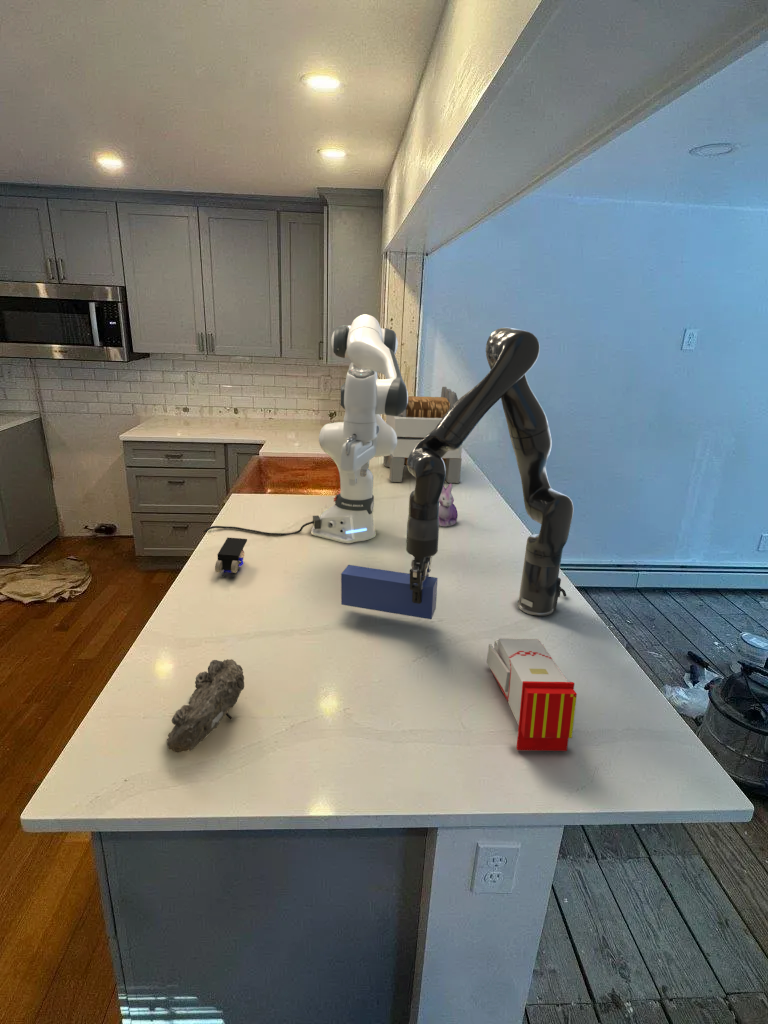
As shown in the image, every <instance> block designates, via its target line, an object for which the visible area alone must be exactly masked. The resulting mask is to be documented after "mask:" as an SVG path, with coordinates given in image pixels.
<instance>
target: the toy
mask: <svg viewBox="0 0 768 1024" xmlns="http://www.w3.org/2000/svg"><path fill="white" fill-rule="evenodd" d="M486 664H487V666H488V667H489V668H490V671H491V672H492V675H493V676H494V679H495V680H496V683H497V684H498V686H499V688H500V690H501V692H502V694H503V695H504V697H505V699H506V701H507V704H508V706H509V708H510V711H511V712H512V715H513V717H514V719H515V722H516V724H517V726H518V728H517V729H518V730H517V741H516V751H535V752H536V751H541V752H544V751H545V752H546V751H547V752H548V751H549V752H550V751H551V752H552V751H553V752H567V751H568V743H569V739H573V731H574V722H575V714H576V706H577V705H576V704H577V697H578V696H577V695H578V694H577V692H576V690H575V682H574V681H569V680H568V679H567V677H566V676H565V675H564V673H563V672H562V670H561V669H560V668H559V666H558V665H557V663H556V662H555V660H554V659H553V657H552V656H551V655H550V653H549V651H547V649H546V646H545V644H543V643H542V641H541V640H540V639H539V638H513V637H512V638H511V637H509V638H508V637H507V638H506V637H498V639H494V645H493V644H488V650H487V657H486Z"/></svg>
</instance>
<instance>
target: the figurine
mask: <svg viewBox="0 0 768 1024" xmlns="http://www.w3.org/2000/svg"><path fill="white" fill-rule="evenodd" d="M452 489H453V483H449V484H448V485H447V487H445V484H444V485H443V489H442V493H441V496H440V499H439V527H450V526H454V525H455V524H457V520H458V517H459V516H458V514H459V513H458V510H457V507H456V505H455V504H454V502H455V498H454V495H453V493H452Z"/></svg>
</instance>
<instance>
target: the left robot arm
mask: <svg viewBox="0 0 768 1024" xmlns="http://www.w3.org/2000/svg"><path fill="white" fill-rule="evenodd" d="M330 344H331V348H332V351H333V354H334V355H335V356H336V357H338V358H342V359H345V358H347V359H349V360H350V363H349V366H348V369H347V373H346V376H345V382H344V383H343V384H342V385H340V406H341V407H342V408H343V410H344V416H343V421H336V422H330V423H325V424H324V425H323V426H322V427H321V429H320V431H319V434H318V442H319V443H318V444H319V446H320V448H321V450H322V451H323V453H325V454H327V456H329V458H330V459H332V461H333V462H334V464H335V465H336V467H337V470H338V474H339V483H340V484H339V485H340V488H339V489H340V490H339V491H338V492H337V494H336V495H335V496H334V497H333V502H334V504H333V505H331V506H329V507H328V508H326V509H325V510H323V512H321V514H320V515H312V521H309V522H306V523H303V524H302V525H301V526H300V528H299V529H298V530H296V531H294V532H293V531H292V532H288V533H286V532H285V533H283V532H267V531H260V530H255V529H250V528H245V527H239V526H228V525H227V526H226V525H225V526H223V525H212V526H209V527H206V528H205V529H204V530H203V533H207V532H208V531H210V530H212V529H227V530H228V529H229V530H239V531H244V532H250V533H256V534H261V535H267V536H290V535H296V534H299V533H301V532H302V531H303V529H304V528H305V527H307V526H309V525H312V528H311V530H310V533H311V536H315V537H319V538H323V539H326V540H330V541H336V542H339V543H343V544H352V543H357V542H365V541H368V540H372V539H373V538H375V537H376V535H377V532H376V528H375V523H374V513H373V512H374V509H375V496H374V474H373V472H372V471H371V469H369V466H370V461H371V460H373V459H374V458H382V457H384V456H388V455H391V454H392V453H393V452H394V450H395V448H396V446H397V435H396V433H395V431H394V429H393V428H392V427H391V426H389V425H388V424H387V423H386V420H384V419H383V417H382V416H381V415H385V416H386V415H390V416H398V415H399V414H401V413H402V412H403V411H404V410H405V409H406V407H407V404H408V396H409V392H408V389H407V385H406V383H405V381H404V379H403V376H402V373H401V370H400V366H399V363H398V359H397V357H396V353H397V352H398V347H399V342H398V337H397V334H396V332H395V331H394V330H393V329H391V328H387V327H385V328H382V326H381V325H380V322H379V320H378V319H377V318H376V317H375V316H372V315H371V314H359V315H358V316H357V317H355V318H354V319H353V321H352V322H351V325H347V324H342V325H338V326H337V327H335V328H334V330H333V333H332V335H331V339H330ZM378 373H379V374H382V375H383V376H384V377H385V379H383V378H379V377H378Z"/></svg>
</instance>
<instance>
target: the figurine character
mask: <svg viewBox="0 0 768 1024" xmlns="http://www.w3.org/2000/svg"><path fill="white" fill-rule="evenodd" d="M247 542H248V538H240V537H226V539H225V541H224V543H223V544H222V546H221V547H220V549H219V551H218V552H217V560H216V562H215V564H214V572H215V573H221V577H222V578H224V577H225V576H226V574H227V573H230V574H231V573H232V574H231V578H234V577H235V575H236V573H237V572H239V571H240V567H242V566H243V565H244V564H245V562H244V558H245V551H244V547H245V546H246V544H247Z"/></svg>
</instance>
